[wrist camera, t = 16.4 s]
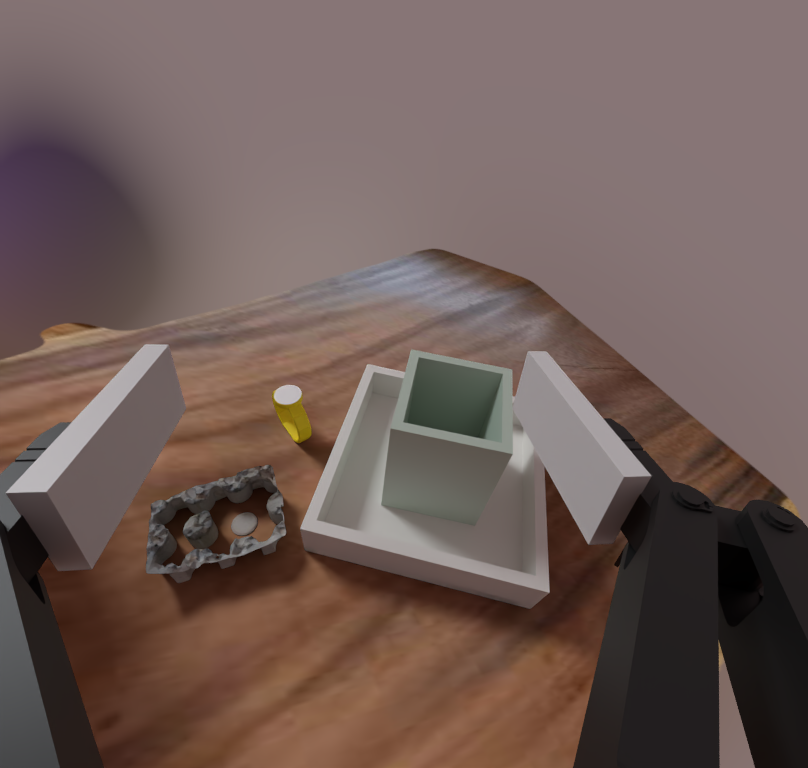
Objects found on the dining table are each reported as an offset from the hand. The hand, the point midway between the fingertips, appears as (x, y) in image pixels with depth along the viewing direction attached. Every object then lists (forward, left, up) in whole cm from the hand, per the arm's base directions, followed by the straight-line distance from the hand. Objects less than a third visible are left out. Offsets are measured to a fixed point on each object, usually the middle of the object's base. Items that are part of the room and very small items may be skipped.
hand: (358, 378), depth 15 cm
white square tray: (+5, +12, -25) cm, 28 cm away
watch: (-11, +14, -26) cm, 31 cm away
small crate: (+5, +12, -24) cm, 28 cm away
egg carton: (-12, +2, -26) cm, 29 cm away
